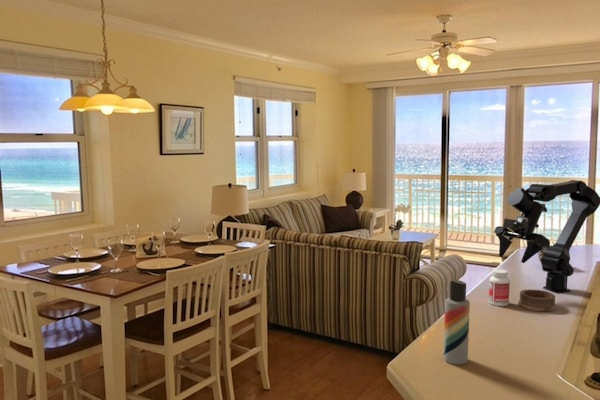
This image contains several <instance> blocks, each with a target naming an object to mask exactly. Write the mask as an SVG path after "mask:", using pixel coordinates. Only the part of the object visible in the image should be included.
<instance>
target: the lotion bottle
mask: <svg viewBox="0 0 600 400" xmlns="http://www.w3.org/2000/svg"><path fill="white" fill-rule="evenodd" d="M448 295H449V297H447V298H446V299H445V301H444V323H443V324H444V328H443V359H444V362H446V361H447V363H448V364H451V365H455V366H456V365H458V366H461V365H465V364H467V362H468V360H469V342H470V341H469V339H470V337H469V336H470V312H471V311H470V309H471V308H470V307H471V306H470V305H471V304H470V300H468V299H467V283H466V282H464V281H462V280H460V279H452V280H450V281H449V294H448Z"/></svg>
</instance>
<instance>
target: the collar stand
mask: <svg viewBox="0 0 600 400" xmlns="http://www.w3.org/2000/svg"><path fill="white" fill-rule="evenodd" d="M517 302H518V304H517V305H518V306H519V307H521V308H522V309H524V310H528V311H532V312H537V313H538V312H539V313H550V312H553V311H556V309H557V305H556V295H555V294H554V293H552V292H549V291H546V290H540V289H522V290H521V291H519V300H518V301H517Z"/></svg>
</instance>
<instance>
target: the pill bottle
mask: <svg viewBox="0 0 600 400" xmlns="http://www.w3.org/2000/svg"><path fill="white" fill-rule="evenodd" d="M508 274H509V272H508V270H505V269H492V271H491V275H492V276H490V277H489V280H488V281H489V282H488V284H489V285H488V302H489V304H491V305H493V306H496V307H506V306H508V305H509V303H510V283H511V282H510V279H509V278H508Z"/></svg>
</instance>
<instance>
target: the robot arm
mask: <svg viewBox="0 0 600 400" xmlns="http://www.w3.org/2000/svg"><path fill="white" fill-rule="evenodd" d="M568 194H569V199H570V200H571V209H572V212H571V213H570V216H569V218H567V221H566V222H565V224H564V226H563V228H562V230H561V232H560V234H559V235H558V237H557V239H556V241H555V243H554V244H553V245H552V246H549V245H551V241H550V239H549V238H547V237H546V236H544V235H543V234H541V233H536V232H534V231H535V229H539V227H540V224H538V222H539V221H540V217H541V216H542V213H547V212H548V208H547V207H546V204H545V203H541V202H546V203H548V202H551V201H553V200H555V199H556V197H558V196H563V195H568ZM506 202H507V204H508V205H510V206H511V207H512V208H514V209H515V210H516V211H518V212H520V213H521V214H520V216H519V215H518V216H515V218H513V219H512V218H504V219H503V224H502V226H501V225H498V226H495V228H494V231H493V233H494V234H495V235H496V237H497V238H498V242H499V251H498V252H499V253H498V256H499V257H500V258H503V256H504V255H505V254H506V252H507V251H508V250H509V248H510V246H511V245H512V244H513V239H518V240H521V241H526V248H525V251H524V253H523V255H522V257H521V261H520V262H521V263H522V264H525V263H526V262H528V260H529V259H531V258H532V257H533V256H535V255H536V254H539V253H538V252H540V251H541V250H544V248H545V251H544V252H543V253H542V257H541V262H540V263H541V267H542V272H547V273H546V277H545V286H542V288H543V289H545V290H548V291H550V292H553V293H556V294H557V293H558V294H559V293H566V292H571V289H569V288H568V277H571V276H573V274H574V271H575V269H574V267H573V266H572V265H571V263H570V260H571V255H570V250H571V248H572V246H573V244H574V242H575V240H576V238H577V236H578V234H579V233H580V231H581V229H582V227H583V225H584V223H585V221H586V220H587V218H588V217H589V216H592V215H593V214H594V213H596V211H597V210H598V209H599V207H600V195H599V194H598V192H597V191H596V190H595V189H593V188H592V187H590V186H588V184H586V182H585V181H583V180H575V179H574V180H573V179H571V180H568V181H563V182H558V183H552V184H542V183H540V184H539V183H531V184H530V185H529V187H528V188H527V189H525V188H524V187H521V186H520V187H516V189H515V190H514V191H511V192H510V193H509V194H508V195H507V198H506Z"/></svg>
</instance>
